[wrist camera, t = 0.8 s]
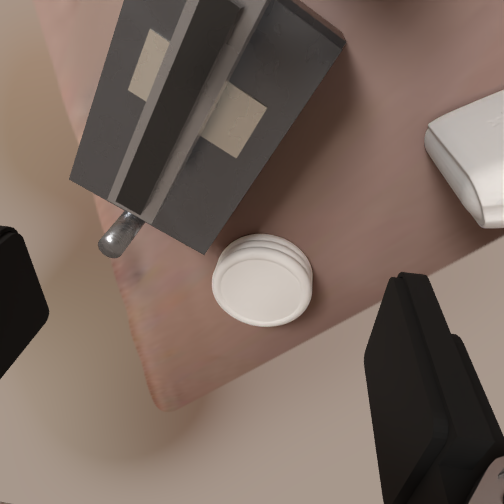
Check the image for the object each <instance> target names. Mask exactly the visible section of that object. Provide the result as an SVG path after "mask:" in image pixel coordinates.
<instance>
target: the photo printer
mask: <svg viewBox="0 0 504 504" xmlns="http://www.w3.org/2000/svg"><path fill="white" fill-rule="evenodd" d="M428 127H429V128H428V129H427V131H426V134H425V139H424V144H425V149H426V151H427V153H428V154H429V156H430V157H431V159H432V160H433V162H434V163H435V165H436V166H437V168H438V169H439V171H440V172H441V173H442V175H443V176H444V178H445V179H446V181H447V182H448V184H449V185H450V187H451V188H452V190H453V191H454V192H455V194H456V195H457V197H458V198H459V200H460V201H461V203H462V204H463V206H464V207H465V208H466V210H467V211H468V212H469V213H470V214H471V215H472V216H473V218H474V219H475V220H476V222H477V223H478V224H479V226H481V227H482V228H504V90H502V91H499V92H497V93H494V94H492V95H489V96H487V97H484V98H482V99H480V100H477V101H475V102H472V103H470V104H468V105H465V106H463V107H461V108H458V109H456V110H454V111H452V112H449V113H447V114H445V115H443V116H441V117H439V118H437V119H435V120H434V121H432V122H430V123H429V124H428Z"/></svg>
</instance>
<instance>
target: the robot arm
mask: <svg viewBox="0 0 504 504" xmlns="http://www.w3.org/2000/svg"><path fill="white" fill-rule="evenodd" d="M48 316H49V308H48V305H47V303H46V300H45V297H44V294H43V291H42V289H41V286H40V283H39V281H38V278H37V275H36V272H35V269H34V267H33V264H32V261H31V259H30V256H29V253H28V250H27V247H26V245H25V242H24V239H23V237H22V236H21V235H20V234H18V232H17V231H16V230H15V229H14V228H12V227H7V226H0V379H1V378H2V376H3V375H4V374H5V372H6V371H7V370H8V369H9V368H10V366H11V365H12V364H13V363H14V361H15V360H16V359H17V358H18V356H19V355H20V354H21V353H22V351H23V350H24V349H25V348H26V346H27V345H28V344H29V342H30V341H31V340H32V339H33V338H34V336H35V335H36V334H37V333H38V331H39V330H40V329H41V328H42V326H43V325H44V324H45V323H46V321H47V319H48ZM364 367H365V374H366V381H367V389H368V395H369V403H370V409H371V417H372V424H373V431H374V438H375V445H376V453H377V460H378V467H379V474H380V481H381V488H382V495H383V501H384V504H504V436H503V434H502V432H501V429H500V427H499V425H498V422H497V420H496V418H495V415H494V413H493V411H492V408H491V406H490V404H489V402H488V399H487V397H486V394H485V392H484V390H483V387H482V385H481V383H480V380H479V378H478V376H477V373H476V371H475V369H474V367H473V364H472V362H471V359H470V358H469V355H468V353H467V350H466V348H465V346H464V343H463V342H462V340H461V338H460V337H458V336H457V335H456V334H451V333H450V330H449V328H448V325H447V323H446V321H445V318H444V315H443V313H442V310H441V308H440V305H439V303H438V301H437V298H436V296H435V293H434V291H433V288H432V286H431V283H430V281H429V278H428V277H427V276H426V275H423V274H414V273H406V272H401V273H399V275H398V277H397V278H396V277H391V278H390V279H389V282H388V284H387V287H386V290H385V293H384V296H383V299H382V302H381V305H380V308H379V311H378V315H377V317H376V320H375V323H374V326H373V329H372V332H371V336H370V338H369V341H368V344H367V347H366V350H365V355H364ZM0 504H10V503H4V502H0Z"/></svg>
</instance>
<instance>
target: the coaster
mask: <svg viewBox="0 0 504 504" xmlns="http://www.w3.org/2000/svg"><path fill="white" fill-rule="evenodd" d="M312 279H313V273H312V268H311V265H310V263H309V261H308V259H307V257H306V255H305V254H304V253H303V252H302V251H301V250H300V249H299V248H298V247H297V246H296V245H295V244H293V243H292V242H290V241H288V240H286V239H284V238H281V237H279V236H275V235H270V234H251V235H247V236H244V237H241V238H239V239H237V240H235V241H233V242H232V243H230V244H229V245H228V246H227V247H226V248H225V249H224V251H223V252H222V253H221V255H220V257H219V259H218V263H217V265H216V268H215V270H214V273H213V277H212V290H213V294H214V297H215V299H216V301H217V302H218V304H219V305H220V306H221V307H222V309H223V310H224V311H226V312H227V313H228V314H229V315H231V316H232V317H234V318H235V319H237V320H239V321H241V322H244V323H247V324H250V325H254V326H261V327H273V326H279V325H283V324H286V323H289V322H291V321H293V320H295V319H296V318H298V317H299V316H300V315H301V314H302V313H303V312H304V311H305V310H306V308H307V307H308V305H309V303H310V300H311V297H312Z"/></svg>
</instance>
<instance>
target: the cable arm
mask: <svg viewBox="0 0 504 504" xmlns="http://www.w3.org/2000/svg"><path fill="white" fill-rule="evenodd" d="M270 1H271V0H187V1H186V3H185V6H184V8H183V11H182V13H181V16H180V18H179V21H178V23H177V26H176V28H175V31H174V33H173V36H172V38H171V41H170V43H169V46H168V48H167V51H166V53H165V56H164V58H163V61H162V63H161V66H160V68H159V71H158V73H157V76H156V78H155V81H154V84H153V86H152V89H151V91H150V94H149V96H148V99H147V101H146V104H145V106H144V109H143V111H142V114H141V116H140V119H139V121H138V124H137V126H136V129H135V131H134V134H133V136H132V139H131V141H130V144H129V146H128V149H127V151H126V154H125V156H124V159H123V161H122V164H121V166H120V169H119V171H118V174H117V176H116V179H115V181H114V184H113V186H112V189H111V191H110V194H109V196H108V199H107V200H108V201H110V202H112V203H114V204H115V205H117V206H119V207H121V208H123V209H124V210H126V211H128V212H130V213H132V214H133V215H135V216H137V217H139V218H140V219H142V220H144V221H146V222H148V223H149V224H152V223H153V221H154V220H155V218H156V217H157V216H158V214H159V213H160V211H161V210H162V208H163V206H164V204H165V202H166V201H167V199H168V197H169V195H170V193H171V191H172V189H173V187H174V185H175V183H176V181H177V179H178V177H179V176H180V174H181V172H182V170H183V168H184V166H185V164H186V162H187V160H188V158H189V156H190V154H191V152H192V151H193V149H194V147H195V145H196V143H197V141H198V139H199V137H200V135H201V133H202V131H203V129H204V128H205V126H206V124H207V122H208V120H209V118H210V116H211V114H212V112H213V110H214V108H215V106H216V104H217V103H218V101H219V99H220V97H221V95H222V93H223V91H224V89H225V87H226V85H227V83H228V81H229V80H230V78H231V76H232V74H233V72H234V70H235V68H236V66H237V64H238V62H239V60H240V58H241V56H242V55H243V53H244V51H245V49H246V47H247V45H248V43H249V41H250V39H251V37H252V35H253V33H254V32H255V30H256V28H257V26H258V24H259V22H260V20H261V18H262V16H263V14H264V12H265V10H266V8H267V7H268V5H269V3H270Z"/></svg>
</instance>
